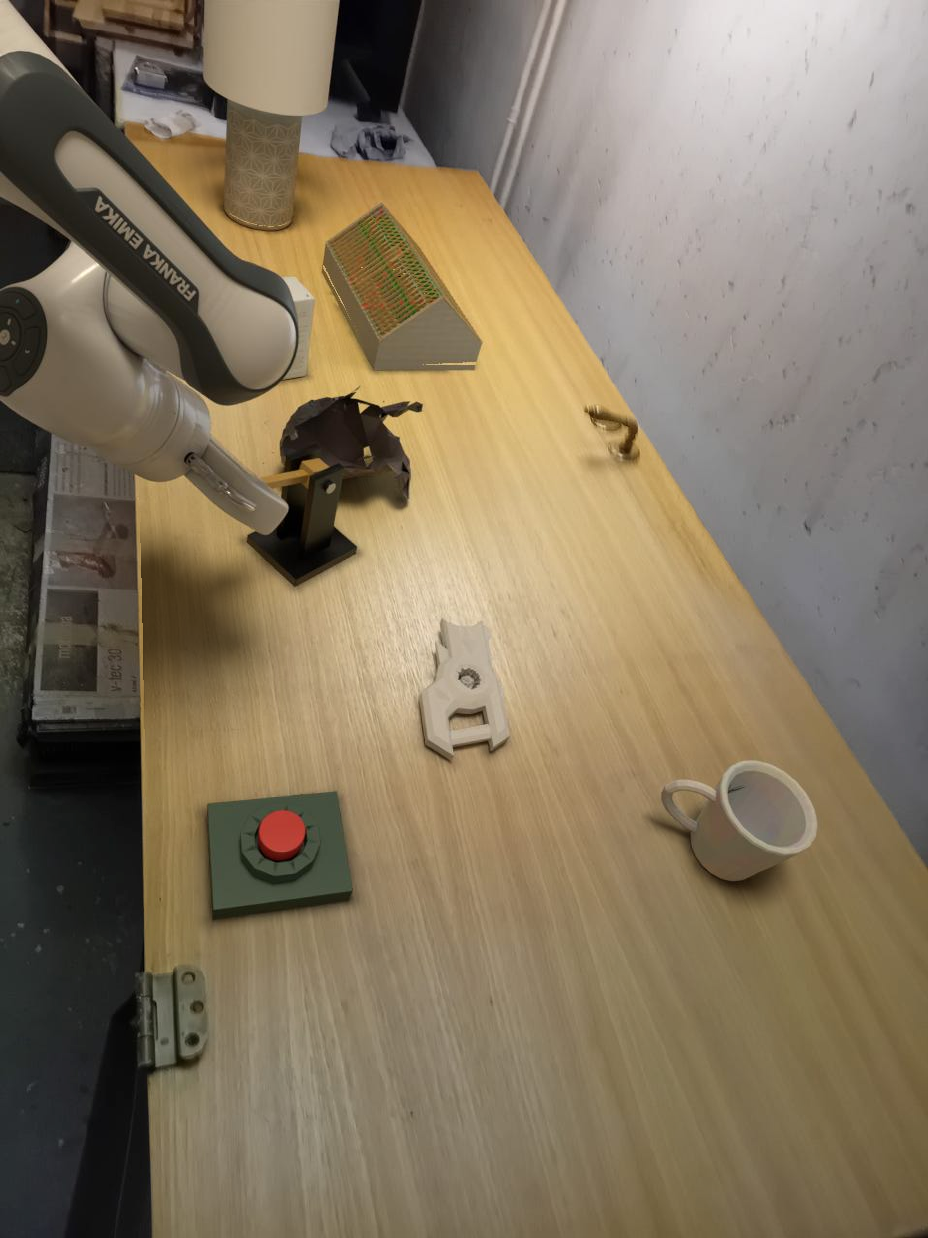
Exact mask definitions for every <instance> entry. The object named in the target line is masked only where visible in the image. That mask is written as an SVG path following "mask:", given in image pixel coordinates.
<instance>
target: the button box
mask: <svg viewBox="0 0 928 1238" xmlns="http://www.w3.org/2000/svg"><path fill="white" fill-rule="evenodd" d="M280 810H286V811H290V812H293V813H295V814H296V815H298V816H299V817H300V818H301V820H302V821H303V823H304V825H305V837H304V841H303V845H302V848H301V849H300V851H299V852H298V853H297V854H296V855H295V856H294V857H292V858H290V859H287V860H281V861H279V860H273V859H270V858H268V857H267V856H265V855H264V854H263V853H262V851H261V850H260V848H259V845H258V833H259V827H260V824H261V822H262V821H263V819H264V818H265V817H266V816H267V815H269V814H270V813H272V812H275V811H280ZM341 813H342V812H341V807H340V801H339V795H338V791H336V790H335V791H326V792H315V793H305V794H304V793H303V794H293V795H284V796H273V797H262V798H253V799H251V798H250V799H243V800H242V799H241V800H231V801H220V802H209V803H207V804H206V828H207V829H206V830H207V848H208V862H209V863H208V865H209V866H208V867H209V883H210V884H209V885H210V901H211V919H212V920H220V919H226V918H233V917H241V916H248V915H254V914H255V915H256V914H261V913H262V914H263V913H269V912H276V911H282V910H289V909H290V910H291V909H297V908H304V907H311V906H318V905H325V904H332V903H339V902H340V903H341V902H346V901H350V899H351V897H352V894H353V891H354V888H353V883H352V882H353V881H352V876H351V869H350V863H349V858H348V857H349V856H348V851H347V844H346V840H345V839H346V838H345V833H344V827H343V820H342V814H341Z"/></svg>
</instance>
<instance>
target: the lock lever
mask: <svg viewBox="0 0 928 1238" xmlns="http://www.w3.org/2000/svg"><path fill="white" fill-rule="evenodd" d="M328 467H329V466H328V465H326V464H325V463H324V462H323V461H322V460H321V459H319V458H317V459H311V460H306V461H302V462H301V465H300V468H299V470H296V471H291V472H286V473H284V472H282V473H277V474H271V475H266V476H261V477H259V478H260V479H261V480H263V481H264V482H265V483H266V484H267V485H268V486H269V487H270V488H271V489H272V490H274V489H277V488H278V489H279V488H282V487H283V486H288V485H293V484H297V483H302V484H303V485H304V486H305V487H306V488H307V489H308V484H309V478H310V475H313V474H315V473H317V472H319V471H322V470H324V469H326V468H328Z"/></svg>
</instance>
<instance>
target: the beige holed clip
mask: <svg viewBox="0 0 928 1238" xmlns="http://www.w3.org/2000/svg"><path fill="white" fill-rule="evenodd" d="M439 628H440V634H441V641H442V644H441V643H440V642H438V641H437V640H435V641H434V646H435V655H436V665H437V668H436V671H435V676H434V681H433V682H432V683H430V684H429V685H428V686H426V688H424V689H423V690H422V691H421V692H420V694H419V696H418V699H419V706H420V714H421V722H422V728H423V729H422V730H423V737H424V743H425V745H426V746H428V747H429V748H431V749H432V750H434V751H435V752H437V753H439V754H440V755H441V756H443V757H445V758H446V759H448V760H450V761H452V760H453V758H454V757H455V753H454V752H455V751H454V747H455V748H457V747H461V746H466V745H471V744H477V743H482V742H487V741H488V746H489V751H490V753H491V752H492V751H494V750H495V749H497V748H499V746H501V745H502V744H504V743H506V742H507V741H508V739H509V738H510V736H511V733H510V729H509V723H508V719H507V715H506V709H505V704H504V700H505V699H504V698H505V688H506V686H505V685H503V686H501V684H500V680H499V679H498V677H497V675H496V672H495V671H494V668H493V666H492V660H493V655H492V652H491V651H492V650H491V646H490V645H491V644H490V642H489V641H490V639H491V637H492V634H491V630H490V627H488V626H486V625H484V619H481V620H479V622H477V623H476V624H474V625H461V624H460V625H459V624H455V623H453V622H451V621H448V620H446V619H445V618H443V617H441V618H440V621H439ZM479 712H482V713H483V719H484V724H480V725H475V726H470V727H465V728H460V729H454V730H451V728H450V721H449V719H450V718H452V716H454V715H455V714H463V715H473V714H475V713H479Z"/></svg>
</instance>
